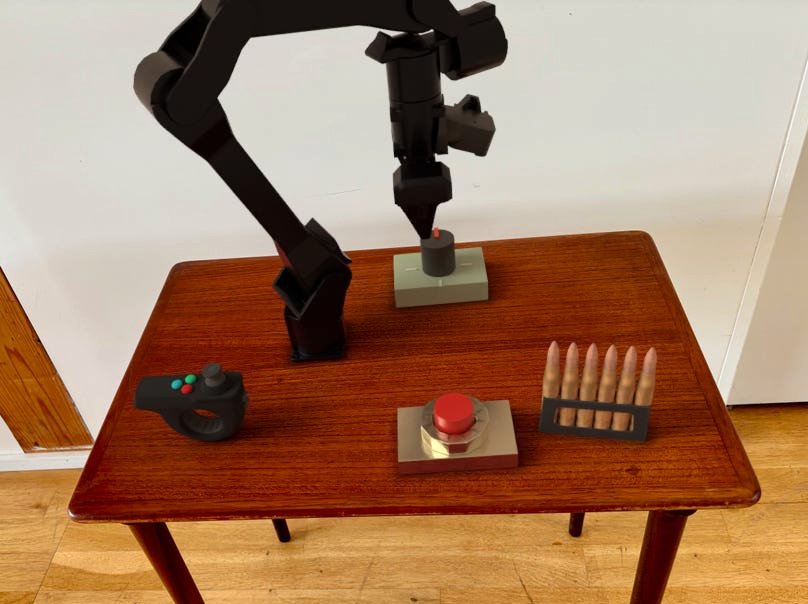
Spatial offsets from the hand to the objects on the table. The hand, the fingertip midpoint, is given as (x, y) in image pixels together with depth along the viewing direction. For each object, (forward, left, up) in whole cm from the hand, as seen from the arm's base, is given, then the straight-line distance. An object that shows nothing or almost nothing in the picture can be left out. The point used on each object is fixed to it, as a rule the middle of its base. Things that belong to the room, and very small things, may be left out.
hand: (423, 218), depth 87 cm
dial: (+2, +2, -9) cm, 9 cm away
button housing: (+2, -26, -12) cm, 29 cm away
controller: (-26, -22, -12) cm, 37 cm away
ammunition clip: (+16, -26, -12) cm, 32 cm away
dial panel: (+2, +2, -12) cm, 12 cm away
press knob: (+2, -26, -8) cm, 27 cm away
